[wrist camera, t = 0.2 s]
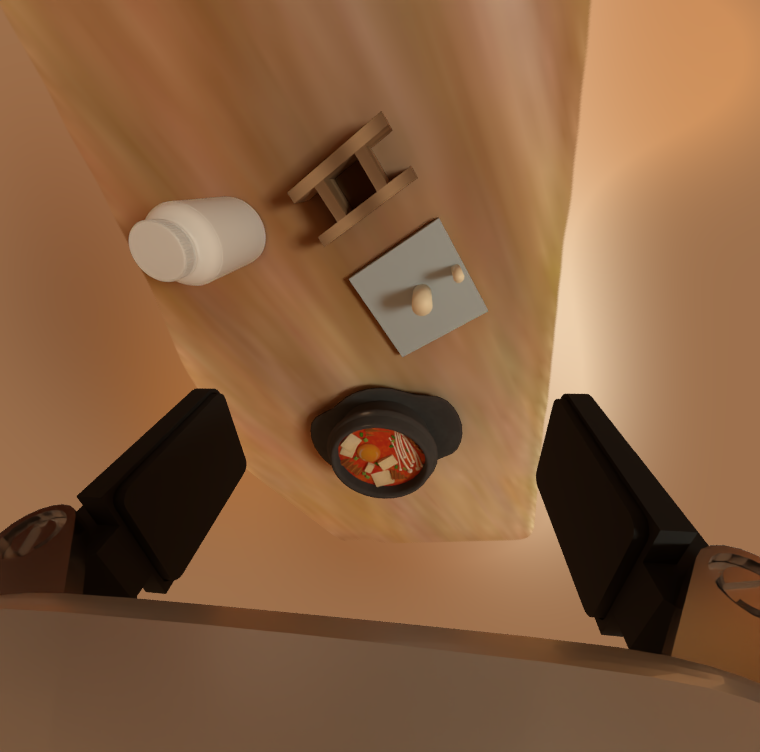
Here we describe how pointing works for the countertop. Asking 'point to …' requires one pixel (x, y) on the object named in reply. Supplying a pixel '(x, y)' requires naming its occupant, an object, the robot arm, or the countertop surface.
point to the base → (405, 276)
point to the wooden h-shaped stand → (340, 161)
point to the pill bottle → (197, 239)
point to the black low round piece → (386, 440)
